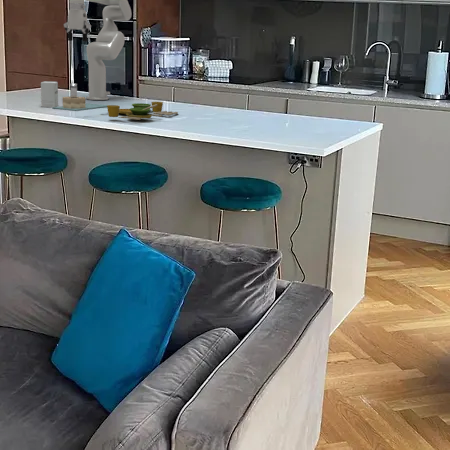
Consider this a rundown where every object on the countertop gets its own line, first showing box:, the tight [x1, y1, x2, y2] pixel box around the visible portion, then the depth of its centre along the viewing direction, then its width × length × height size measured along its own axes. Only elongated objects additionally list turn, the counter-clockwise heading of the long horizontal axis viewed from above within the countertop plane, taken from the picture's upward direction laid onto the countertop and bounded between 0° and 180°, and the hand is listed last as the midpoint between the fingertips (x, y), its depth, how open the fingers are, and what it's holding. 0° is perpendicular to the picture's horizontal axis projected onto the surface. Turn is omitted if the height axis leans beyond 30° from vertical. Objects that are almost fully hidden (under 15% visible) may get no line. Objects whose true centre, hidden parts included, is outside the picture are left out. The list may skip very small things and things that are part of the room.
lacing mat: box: [51, 102, 108, 112], centre depth 382 cm, size 30×15×1 cm, turn 153°
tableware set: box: [106, 101, 179, 121], centre depth 364 cm, size 41×28×6 cm
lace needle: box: [69, 83, 78, 98], centre depth 374 cm, size 3×3×12 cm
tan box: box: [62, 96, 87, 109], centre depth 375 cm, size 11×11×5 cm
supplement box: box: [40, 81, 59, 108], centre depth 380 cm, size 7×7×13 cm
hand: (77, 41), depth 389 cm, fingers open, 9 cm apart
